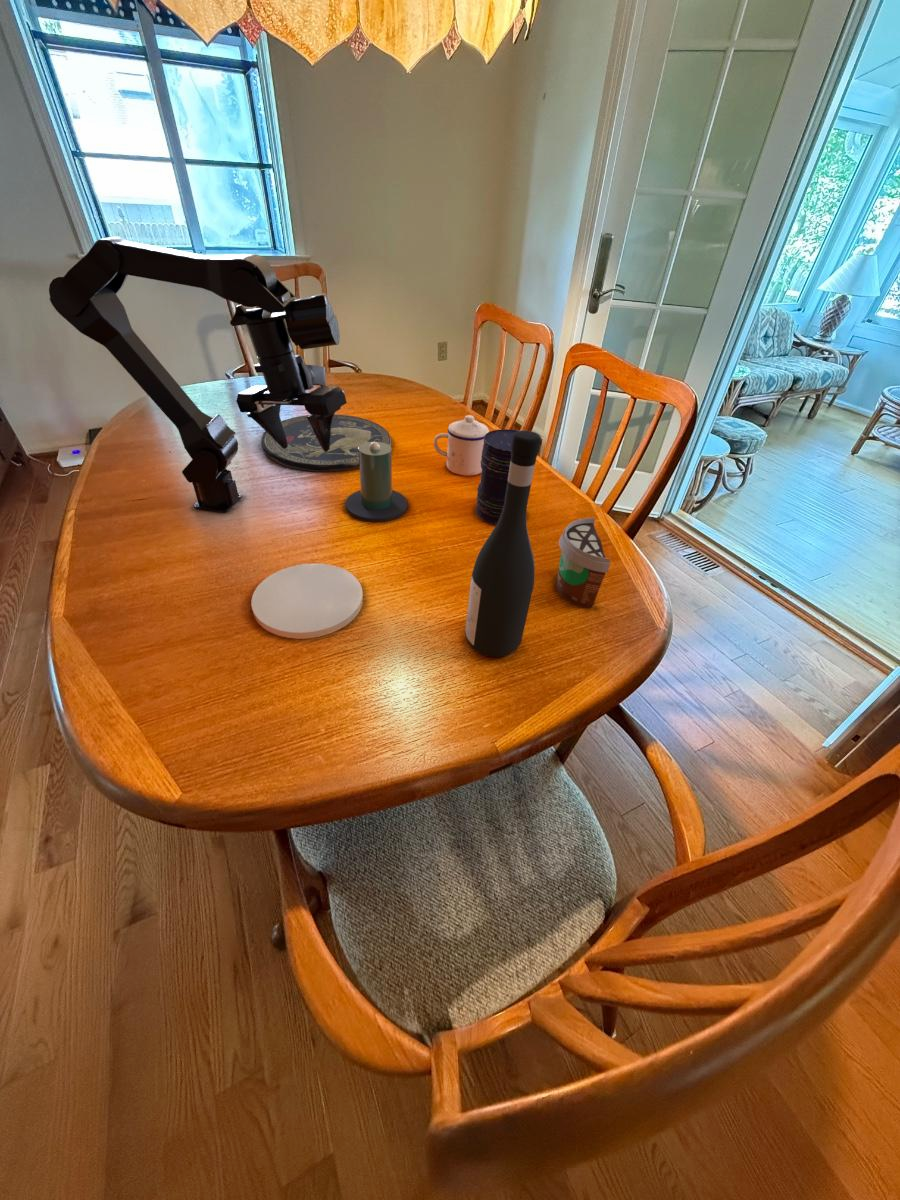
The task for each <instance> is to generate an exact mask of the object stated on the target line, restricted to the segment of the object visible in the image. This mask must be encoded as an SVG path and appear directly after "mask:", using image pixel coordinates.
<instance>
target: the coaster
mask: <svg viewBox="0 0 900 1200" xmlns="http://www.w3.org/2000/svg"><path fill="white" fill-rule="evenodd" d="M408 503H409V502H408V499H407V498H406V497H405V496H404V495H403V494H402V493H401V492H399V491H397V490H394V489H392V505H391V506H390V507H388V508H386V509H383V510H371V509H367V508H365V507H364V506H363V505H362V503H361V489H359V490H357V491H355V492H353V493H350V495H349V496H348V497H346V499H345V503H344V504H345V510H346V512H347V513H348V514H349V515H350V516H351V517H353V518H355V519H357V520H360V521H363V522H368V523H384V522H390V521H394V520H397V519H399V518H400V517H403V515H405V513H407V511H408V507H409V506H408Z"/></svg>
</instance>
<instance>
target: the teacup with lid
mask: <svg viewBox="0 0 900 1200" xmlns="http://www.w3.org/2000/svg"><path fill="white" fill-rule="evenodd" d="M488 432H490V430H489V427H488V426H487V425H486V424H484V423H482V422H479V421H478V420H476V419H475V416H474V415H471V414H467V415H465V417H464V419H461V420H456V421H454V422H451V423H450V424H449V425H448V428H447V433H446V432H441V433H438V434H437V435H436V436H434V439H433V447H434V450H435V451H436V452H437V454H438V455H440V456H443V457H446V469H448V470H449V471H450V472H451V473H453V474H456V475H458V476H459V475H460V476H466V477H467V476H468V477H469V476H477V475H479V474H481V472H482V468H481V459H482V457H481V456H482V449H483V444H484V436H485V434H487V433H488ZM441 438H445V439H447V450H446V451H443V450H441V449H440V447H439V445H438V440H439V439H441Z"/></svg>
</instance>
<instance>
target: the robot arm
mask: <svg viewBox="0 0 900 1200" xmlns="http://www.w3.org/2000/svg"><path fill="white" fill-rule="evenodd" d="M129 276H132V277H137V278H143V279H149V280H152V281H153V280H154V281H160V282H165V283H170V284H176V285H182V286H188V287H193V288H199V289H202V290H205V291H208V292H211V293H212V294H214V295H216V296H218V297H220V298H222V299H224V300H227V301H229V302H232V303H235V304H237V306H236V307H235V311H234V314H233V316H232V318H231V320H229V324H230V325H231V326H232V327H238V326H245V327H246V329H247V332H248V335H249V338H250V341H251V344H252V347H253V350H254V353H255V356H256V359H257V362H258V363H257V364H254V365H253V367H254V368H253V369H254V371H255V373H257V374H259V373H261V374H262V376H263V379H264V383H265V384H264V385H259V384H258V385H257V384H255V385H254V386H251V387H249V388H247V389H245V390H243V391H240V392H239V393H237V396H236V401H235V402H236V404H237V407H238V409H239V412H240V413H246V416H247V417H248V418H251V419H252V420H253V421H254V422H256V424H257V425H259V426H260V427H261V428H262V429H263V430H264V432H265V431H266V432H267V433H268V434H269V435H270V436H271V437H272V438H273V439H274V440H275V441H276V442H277V443H278V444H279V445H280V446H281V447H282V448H283V449H285V448H287V447H288V444H287V439H286V435H285V432H284V429H283V425H282V422H281V421H282V420H281V416H280V413H281V407H282V406H300V407H301V406H302V407H303V406H304V409H305V411H306V412H307V413H308V415H309V416H308V417H307V419H308V421H309V423H310V425H311V427H312V429H313V431H314V433H315V435H316V437H317V439H318V442H319V444H320V446H321V447H322V449H323V450H324V452H327V451H328V450H329V449H330V434H331V424H332V418H333V416H334V414H336V413H337V412H338V411H340V410H341V408H342V407H343V406H344V405H346V404H347V403H348V401H347V398H346V393H345V391H344V390H343V388H341V387H340V386H339V385H327V382H326V381H327V380H326V367H325V366H322V365H314V364H305V362H304V358H303V356H302V355H301V354H296V353H295V350H294V347H293V344H294V346H295V347H296V346H298V347H299V348H300V349H301V350H309V349H317V348H324V347H332V346H338V345H339V344H340V339H341V338H340V337H341V335H340V328H339V323H338V318H337V315H336V314H335V312H334V310H333V307H332V305H331V303H330V302H329V298H328V294H327V293H325V292H323V293H317V294H315V295H312V296H307V297H306V296H305V297H300V298H298V297H297V296H296V295H295V294H294V293H293V292H292V291H291V290H290V289H289V288H288V287H287V286H286V285H285V284H284V283H283V282H282V281H281V280H280V279H279V278H278V277H277V274H276V272H275V270H274V268H273V266H272V265H271V264H270V262H269V261H268V260H267V259H266V258H265V257H263V256H262V255H259V254H254V253H241V254H238V253H237V254H221V255H204V254H199V253H194V252H189V251H184V250H178V249H173V248H169V247H168V248H167V247H163V246H157V245H152V244H147V243H141V242H135V241H130V240H127V239H124V238H122V237H119V236H111V237H105V238H99V239H97V240H96V241H95V242H94V243H93V245H92V246H91V247H90V249H89V251H88V252H87V253H86V254H85V255H84V256H83V257H82V258H81V259H79V260H78V261H77V262H76V263H75V264H74V265H73V266H71V267H70V269H69V270H68V271H67V272H66V273H65V274H64V275H60V276H57V277H55V278H53V279H52V280H51V281H50V283H49V286H48V294H49V302H50V303H51V305H52V307H53V308H54V309H55V311H56V312H57V313H58V314H59V315H60V316H61V317H62V318H63V319H65V321H67V323H69V324H70V326H72V327H74V328H75V330H76V331H78V332H79V333H80V334H82V335H83V336H86V337H87V338H89V339H91V340H93V341H95V342H96V343H97V344H100V345H102V346H103V347H104V348H105V349H106V350H107V351H108V352H109V353H110V354H111V355H112V357H114V359H115V360H116V361H117V362H118V363H119V365H121V367H122V368H123V369H124V370H125V371H126V372H127V374H129V376H130V377H131V378H132V379H133V380H134V382H135V383H136V384H137V385H138V386H139V387H140V388H141V390H143V391H144V392H145V394H146V395H147V396H148V397H149V398H150V399H151V400H152V401H153V402H154V404H155V405H156V406H157V407H158V408H159V409H160V411H162V413H163V414H164V415H165V416H166V417H167V418H168V419H169V420H170V422H171V423H172V424H173V425H174V426H175V427H176V429H177V431H178V433H179V436H180V439H181V442H182V445H183V447H184V449H185V451H186V452H187V454H188V455H189V457H190V458H191V460H190V462H189V463H187V465H186V466H185V467H184V468H183V469H182V470H181V473H182V474H181V475H183V477H184V478H185V479H186V482H188V483H190V484H191V483H192V487H193V490H194V493H195V496H196V500H197V501H196V502H195V503H194V504H193V505H192V506H193V508H194V509H196V510H197V509H198V510H204V511H212V512H218V513H223V514H224V513H227V512H229V510H231V509H232V507H234V506H235V505H236V504H237V503H238V502H239V501H240V500H241V499H242V498H243V496H242V494H241V493H239V491H238V488H237V484H236V483H237V482H236V480H235V479H234V478H233V474H232V471H231V470H228V469H227V468H228V466H229V465H231V464H232V461H233V459H234V458H235V457H236V455H237V453H238V451H239V442H238V440H237V438H236V436H235V435H236V431H234V429H231V428H230V426H229V425H228V423H226V421H225V419H224V418H223V417H222V416H221V414H219V413H217V414H216V415H215V416H214V417H212V416H210V415H208V414H206V413H204V412H203V411H202V410H201V409H200V408H199V407H198V406H197V405H196V404H195V402H194V401H193V399H191V398H190V397H189V395H188V394H187V393H186V392H185V391H184V389H183V388H182V387H181V385H179V383H178V382H177V381H176V380H175V378H174V377H173V376H172V375H171V374H170V373H169V372H168V370H167V369H166V368H165V367H164V365H163V364H162V363H161V362H160V360H159V359H157V357H156V356H155V355H154V354H153V352H152V351H151V350H150V349H149V348H148V346H147V345H146V344H145V343H144V341H143V340H142V339H141V338H140V337H139V336H138V334H137V333H136V332H135V331H134V329H133V327H132V325H131V322H130V319H129V316H128V314H127V311H126V308H125V306H124V305H123V303H122V301H121V300H120V298H119V297H118V295H117V294H118V293H119V292H120V291H121V290H122V288H123V287H124V285H125V283H126V282H127V279H128V277H129ZM255 307H257V308H255ZM250 308H251V309H250ZM292 343H293V344H292ZM314 386H319V387H317V388H315V387H314ZM314 388H315V389H314ZM311 389H313V390H312V391H311ZM307 391H310V392H307Z"/></svg>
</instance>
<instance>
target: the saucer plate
mask: <svg viewBox="0 0 900 1200" xmlns="http://www.w3.org/2000/svg"><path fill="white" fill-rule="evenodd" d="M363 601H364V594H363V586H362V585H361V583H360V581H359V580H358V578H357V577H356V576H355V575H354V574H352V573H351V572H350V571H348V570H346V569H344V568H342V567H339V566H337V565H333V564H326V563H318V562H317V563H313V562H312V563H301V564H296V565H292V566H287V567H285V568H282V569H280V570H278V571H275V572H274V573H272V574H270V575H268V576H267V577H266V578H264V579H263V580H262V581H261V582H260V583H259V584H258V585H257V586H256V588H255V589H254V591H253V593H252V596H251V601H250V606H251V610H252V614H253V617H254V619H255V621H256V622H257V623H258V625H259V626H260V627H261V628H263V629H264V630H266V631H267V632H268V633H271V634H273V635H275V636H279V637H283V638H288V639H295V640H296V639H297V640H298V639H301V640H303V639H305V640H306V639H314V638H319V637H324V636H326V635H330V634H332V633H335V632H337V631H339V630H341V629H343V628H344V627H346V626H347V625H349V624H350V623H352V622H353V621H354V619H355V618H356V617H357V616H358V615H359V613H360V611H361V609H362V608H363Z"/></svg>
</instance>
